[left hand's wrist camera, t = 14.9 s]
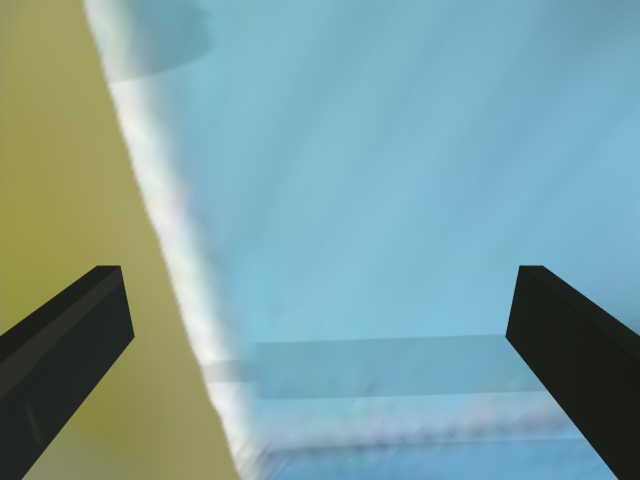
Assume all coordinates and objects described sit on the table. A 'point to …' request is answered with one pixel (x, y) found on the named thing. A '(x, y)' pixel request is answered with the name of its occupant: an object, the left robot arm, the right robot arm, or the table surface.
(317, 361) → the table surface
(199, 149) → the table surface
